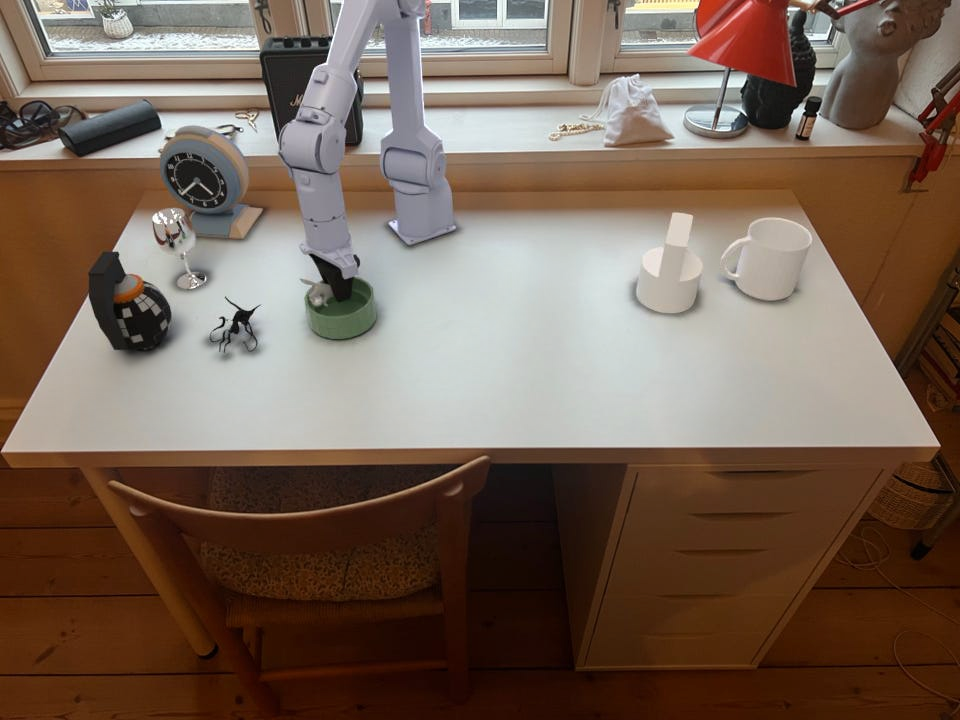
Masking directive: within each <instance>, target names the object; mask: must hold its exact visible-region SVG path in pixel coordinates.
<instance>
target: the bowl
mask: <svg viewBox="0 0 960 720" xmlns="http://www.w3.org/2000/svg"><path fill="white" fill-rule="evenodd" d="M317 283H324V282H323V280H322V279H321V280H319V281H317ZM312 288H313V285H311V287H309V289H307V291H306V293H305V295H304V298H303V299H304V307H305V311H306V315H307V319H308V324H309V326H310V328H311V329H312V331H313V332H314V333H315V334H317V335H319V336H320V337H323V338H327V339H332V340H334V339H335V340H345V339H350V338H354V337H357V336H359V335H361V334H363V333H365V332H366V331H368V330H369V329H370V328H372V326H374V324H375V322H376V320H377V316H378V314H377V306H376V299H375V298H376V297H375V292H374V288H373V286H372V285H371V284H370V282H369V281H367V280H366V279H363V278H361V277H359V276H354V280H353V286H352V294H351V298H350V299H348V300H345V301H342V302H339V303H338V302H337V301H336V299H335V297H331V298H329V299H328V300H327V302H326V304H328V306H327V307H326V306H324V304H323V303H322V305H321V306H319V307H315V306H314V305H312V302H311V301H310V300H309V299H310V297H309V291H310V290H311V289H312ZM319 296H321V297H322V298H323V294H320V295H319Z"/></svg>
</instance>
